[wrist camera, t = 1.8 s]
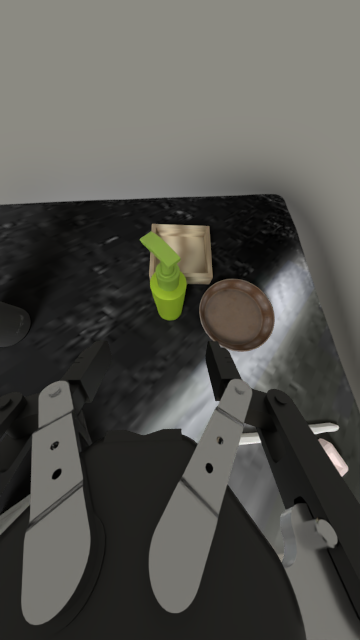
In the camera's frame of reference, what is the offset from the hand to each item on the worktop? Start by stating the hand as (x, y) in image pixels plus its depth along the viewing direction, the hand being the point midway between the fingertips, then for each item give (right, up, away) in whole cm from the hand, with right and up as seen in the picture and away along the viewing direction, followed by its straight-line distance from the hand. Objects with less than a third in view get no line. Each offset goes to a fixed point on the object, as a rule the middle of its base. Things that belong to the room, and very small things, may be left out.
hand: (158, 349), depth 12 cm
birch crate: (+2, +19, +28) cm, 34 cm away
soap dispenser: (-1, +5, +25) cm, 25 cm away
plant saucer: (+15, +3, +25) cm, 29 cm away
